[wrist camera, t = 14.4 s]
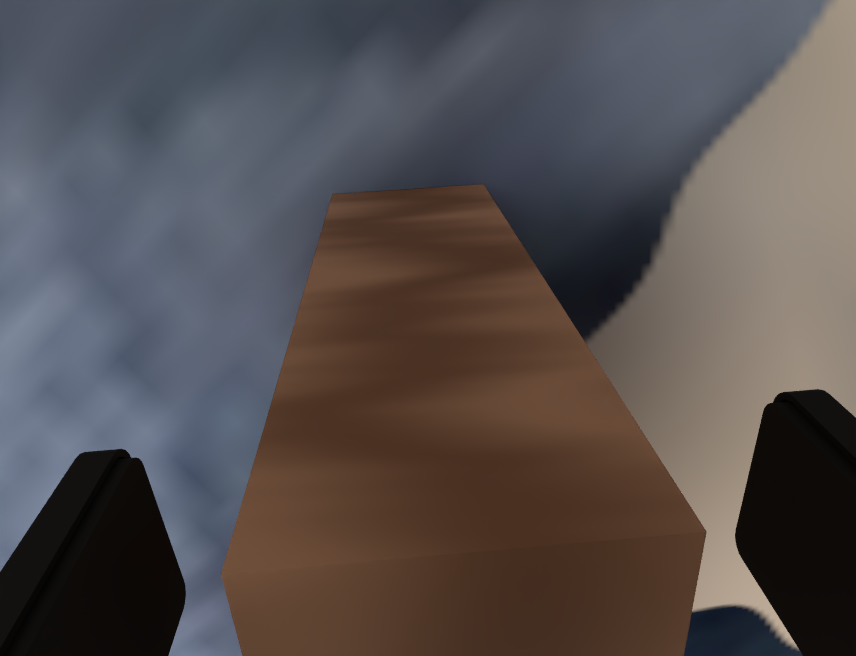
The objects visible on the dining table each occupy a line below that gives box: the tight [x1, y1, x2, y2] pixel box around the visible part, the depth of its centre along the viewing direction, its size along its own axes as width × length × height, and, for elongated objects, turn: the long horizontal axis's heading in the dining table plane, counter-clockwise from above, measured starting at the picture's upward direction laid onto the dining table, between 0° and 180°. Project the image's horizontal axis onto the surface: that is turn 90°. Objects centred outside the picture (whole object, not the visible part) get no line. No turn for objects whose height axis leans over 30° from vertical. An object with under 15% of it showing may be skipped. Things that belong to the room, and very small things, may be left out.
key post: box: [221, 184, 706, 656], centre depth 15 cm, size 5×5×16 cm
